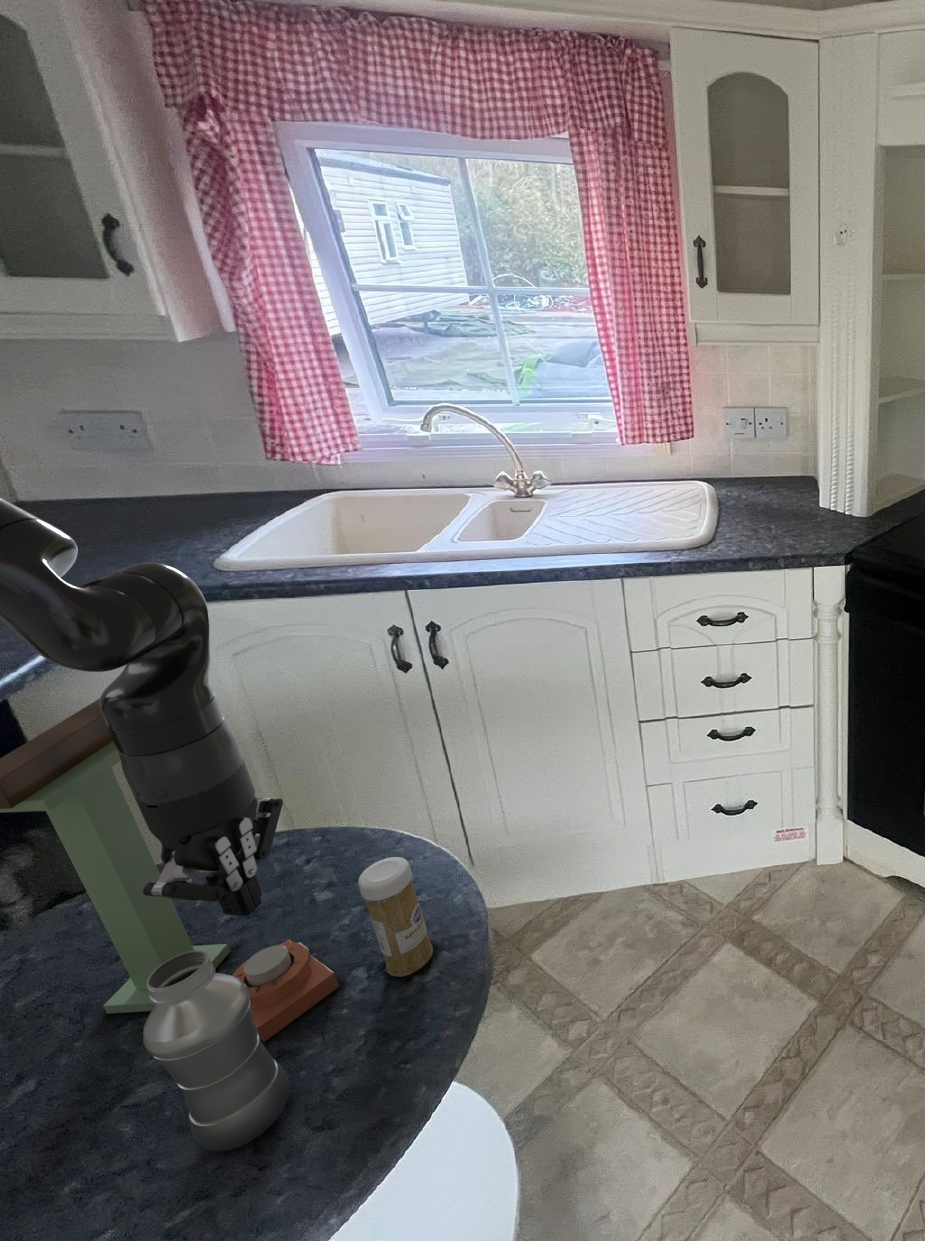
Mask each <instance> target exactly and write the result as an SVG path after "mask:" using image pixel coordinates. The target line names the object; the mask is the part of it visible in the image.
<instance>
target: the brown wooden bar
mask: <svg viewBox="0 0 925 1241" xmlns="http://www.w3.org/2000/svg"><path fill="white" fill-rule="evenodd" d="M99 700H100V698H98V699H96V700H94V701H93V702H91V703H89V704H88V705H87V706H84V707H83V708H81V709H80V710H78V711H77V712H74V713H73V714H71V715H70V716H68V717H66V718H65V719H64V720H61V721H60V722H58V723H57V724H55V725H54V726H52V727H50V728H49V729H47V730H45V731H44V732H42V733H40V734H37V736H35V737H33V738H32V739H30V740H28V741H27V742H25V743H24V744H22V745H20V746H19V747H17V748H15V749H13V750H11V751H10V752H9V753H6V755H4V756H2V757H1V758H0V809H11V808H13V807H15V806H16V805H18V804H19V803H21V802H22V801H24V800H25V799H27V798H28V797H30V796H31V795H33V794H34V793H36V792H37V791H39V790H40V789H42V788H43V787H45V786H46V785H47V784H49V783H50V782H52V781H53V780H55V779H56V778H58V777H59V776H61V775H62V774H64V773H65V772H67V771H68V770H70V769H71V768H73V767H74V766H76V765H77V764H79V763H80V762H82V761H83V760H85V759H86V758H88V757H89V756H91V755H92V754H94V753H95V752H96V751H98V750H99V749H101V748H102V747H104V746H105V745H107V744H108V743H110V742H111V741H113V739H112V737H111V734H110V732H109V730H108V728H107V725H106V724H105V721H104V719H103V716H102V714H101V711H100V707H99Z"/></svg>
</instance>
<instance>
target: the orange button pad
mask: <svg viewBox="0 0 925 1241" xmlns="http://www.w3.org/2000/svg"><path fill="white" fill-rule="evenodd" d="M278 945H281V946H284V947H286V948H287V950H288V952H289V955H290V958H291V960H292V964H291V967H290V969H289V970H288V971H287V973H286V974H284V975H283V976H281V977H280V978H278V979H277V980H275V981H274V982H271V983H268V984H266V985H263V986H260V987H254V986H251V985H250V984H249V983H248V981H247V979H246V976H245V974H244V971H243V968H244V965H245V963H246V962H247V961H248V960H249V959H250V958H248V959H246V960H245V961H244V962H243V963H242V964H240V965H239V967H237V969H236V970H235V971H234V972H233V973H232V975H231V976H234V977H236V978H237V979H239V980H240V981H242V982H243V983H244V984H245V985H246V986H247V989H248V992H249V995H250V1001H251V1008H252V1014H253V1020H254V1023H255V1026H256V1029H257V1031H258V1035H259V1037H260V1040H261V1042H262V1043H265V1042H266V1041H268V1040H270V1039H271V1038H272V1037H273V1036H274V1035H276V1034H277V1033H279V1032H280V1031H281V1030H283V1029H284V1028H285V1027H286V1026H288V1025H290V1024H291V1023H293V1021H295V1020H297V1019H298V1018H299V1017H300V1016H301V1015H303V1014H304V1013H306V1012H307V1011H308V1010H310V1009H311V1008H313V1007H314V1006H315V1005H316V1004H318V1003H319V1002H321V1001H322V1000H323V999H325V998H326V997H327V996H328V995H330V994H332V993H333V992H334V991H335V990H337V989H338V988H339V987H340V984H339V982H338V979H337V976H336V973H335V972H334V971H333V970H332V969H330V968H329V967H328V966H327V965H325V964H323V963H322V962H321V961H320V960H318V959H317V958H315V956H313V955H312V954H311V951H310V949H309V948H308V947H307V946H305V945H304V944H303V943H301V942H294V941H292V940H291V939H289V938H288V939H287V940H285V941H284V942H282V943H279V944H278Z"/></svg>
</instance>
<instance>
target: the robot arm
mask: <svg viewBox="0 0 925 1241" xmlns="http://www.w3.org/2000/svg"><path fill="white" fill-rule="evenodd" d="M78 548H79V547H78V545H77V543H76V541H75V540H74V539H73V537H71V536H70V535H68V534H67V533H65V532H64V531H62V529H60V528H58V527H56V526H55V525H53V524H51V523H48V522H47V521H45V520H43V519H41V518H40V517H38V516H36V515H34V514H32V513H30V512H28V511H27V510H24V509H22V507H21V508H20V507H19V506H17V505H15V504H14V503H12V502H9V501H7V500H6V499H3V498H2V497H0V621H2V622H3V623H4V624H5V625H6V626H7V627H8V628H9V629H11V630H12V631H13V632H14V633H15V634H16V635H17V636H18V637H19V638H20V639H22V640H23V642H25V643H26V645H28V646H29V647H30V648H31V649H32V650H33V651H35V652H36V653H37V654H39V655H40V657H42V658H44V659H46V660H47V661H49V662H51V663H53V664H55V665H58V666H60V667H62V668H66V669H70V670H75V671H81V672H88V673H96V672H97V673H103V672H110V671H114V670H117V669H120V668H123V670H122V671H121V672H120V674H119V675H118V676H117V677H116V678H115V679H114V680H113V681H112V682H110V683H109V685H108V686H106V688H105V689H104V690H103V691H102V693H101V695H100V697H99V699H100V700H99V707H100V711H101V714H102V716H103V719H104V721H105V724H106V725H107V728H108V730H109V732H110V734H111V737H112V739H113V741H114V743H115V745H116V748H117V750H118V752H119V755H120V765H121V769H122V772H123V776H124V778H125V780H126V783H127V784H128V787H129V789H130V791H131V793H132V795H133V798H134V800H135V802H136V804H137V806H138V808H139V811H140V813H141V815H142V818H143V819H144V822H145V824H146V826H147V828H148V831H149V832H150V833H151V834H152V835H153V836H154V837H155V838H156V839H157V840H158V841H159V843H160V844H161V853H160V859H161V861H162V863H163V864H164V866H163V869H162V871H161V872H160V877H159V879H158V880H157V881H151V882H149V883H148V884H147V885H146V886H145V887H144V889H143V894H144V895H146V896H155V897H165V898H171V899H177V900H185V901H208V902H218V903H219V905H220V908H221V911H222V912H223V914H224V915H226V916H238V917H239V916H240V917H248V916H250V915H251V914H252V913H253V912H254V911H255V910H256V909H257V908H258V907H259V906H260V905H262V902H263V901H262V899H261V898H262V893H263V891H262V887H261V886H260V884H259V881H258V878H257V876H256V874H257V872H258V866H257V865H258V864H259V863H260V861H261V860H265V859H267V858H268V857H269V856H270V853H271V849H272V845H273V841H274V838H275V834H276V832H277V826H278V823H279V819H280V815H281V812H282V809H283V805H284V801H283V799H282V798H276V797H257V796H256V789H255V786H254V784H253V780H252V777H251V775H250V772H249V770H248V767H247V765H246V762H245V760H244V757H243V755H242V752H241V749H240V747H239V744H238V742H237V738H236V737H235V734H234V732H233V731H232V729H231V727H230V726H229V724H228V723H227V721H226V719H225V717H224V715H223V712H222V710H221V706H220V705H219V702H218V699H217V697H216V693H215V691H214V688H213V686H212V684H211V681H210V666H211V630H210V628H211V626H210V614H209V608H208V603H207V601H206V599H205V596H204V594H203V592H202V590H200V588H199V587H198V585H197V584H196V583H195V581H193V579H191V578H190V577H189V576H188V575H187V574H186V573H183V571H180V570H179V569H177V568H175V567H172V566H171V565H167V564H163V563H158V562H141V563H136V564H132V565H129V566H125V567H123V568H120V569H118V570H116V571H113V572H111V573H109V574H106V575H105V576H102V577H100V578H97V579H94V580H92V581H89V582H87V583H85V584H82V585H80V586H76V585H73V584H71V583H68V582H67V581H65V580H64V579H63V576H65V575H66V574H67V573H68V571H70V570H71V568H72V567H73V565H74V564H75V563H76V560H77V558H78V555H79V549H78ZM257 834H258V835H259V839H258V843H257V845H256V842H255V839H256V835H257ZM184 869H185V870H186V869H188V870H191V871H192V873H193V874H194V875H195V876H197V877H199V878H201V880H202V882H203V883H204V884H197V883H192V881H193V878H192V877H189V875H188V873H186V872H184Z"/></svg>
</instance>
